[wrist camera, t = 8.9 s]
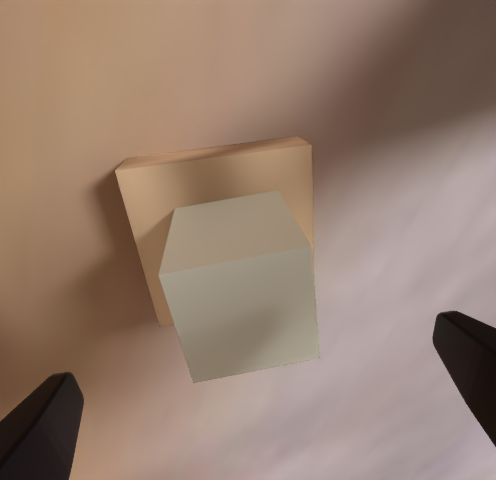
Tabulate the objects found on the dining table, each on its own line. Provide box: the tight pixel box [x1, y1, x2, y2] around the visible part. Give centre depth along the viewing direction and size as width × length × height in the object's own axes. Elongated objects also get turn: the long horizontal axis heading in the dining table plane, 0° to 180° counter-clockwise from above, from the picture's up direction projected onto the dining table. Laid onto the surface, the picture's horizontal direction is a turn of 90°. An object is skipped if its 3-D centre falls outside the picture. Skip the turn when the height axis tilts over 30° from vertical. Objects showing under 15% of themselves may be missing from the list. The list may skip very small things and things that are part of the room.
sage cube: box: [159, 190, 320, 383], centre depth 15 cm, size 5×5×6 cm
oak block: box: [115, 136, 314, 326], centre depth 19 cm, size 9×9×3 cm
